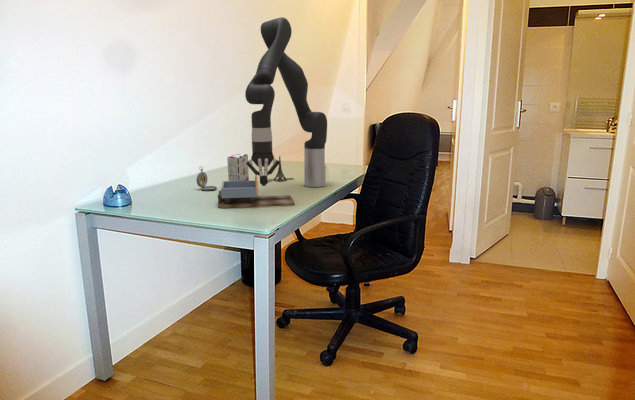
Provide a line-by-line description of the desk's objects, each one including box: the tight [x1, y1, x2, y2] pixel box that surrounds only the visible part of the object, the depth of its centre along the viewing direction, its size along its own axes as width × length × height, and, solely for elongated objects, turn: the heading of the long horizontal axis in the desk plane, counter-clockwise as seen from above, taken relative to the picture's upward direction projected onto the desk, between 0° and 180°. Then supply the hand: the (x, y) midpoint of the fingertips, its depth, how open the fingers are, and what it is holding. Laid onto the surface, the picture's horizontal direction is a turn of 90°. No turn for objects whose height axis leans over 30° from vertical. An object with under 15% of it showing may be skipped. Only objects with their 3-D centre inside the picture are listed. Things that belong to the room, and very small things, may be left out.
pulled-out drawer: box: [220, 174, 259, 203], centre depth 171 cm, size 13×15×8 cm
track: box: [217, 190, 296, 209], centre depth 173 cm, size 28×14×4 cm, turn 99°
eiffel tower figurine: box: [267, 155, 295, 184], centre depth 219 cm, size 15×10×13 cm
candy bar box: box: [227, 153, 250, 181], centre depth 186 cm, size 11×5×16 cm, turn 168°
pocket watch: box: [196, 166, 218, 192], centre depth 197 cm, size 8×8×10 cm
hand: (263, 185), depth 172 cm, fingers closed
